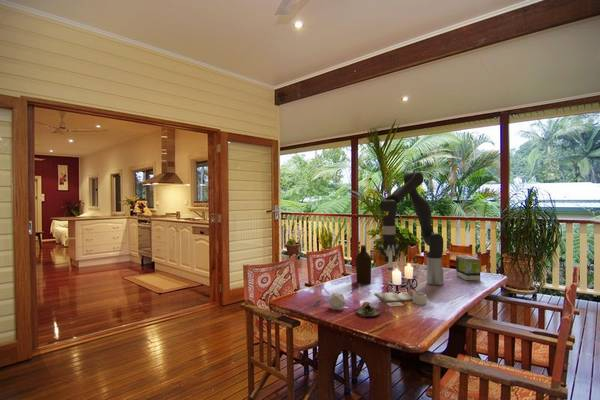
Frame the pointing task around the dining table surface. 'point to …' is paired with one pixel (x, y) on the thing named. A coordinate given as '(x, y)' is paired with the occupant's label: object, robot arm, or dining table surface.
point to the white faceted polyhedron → (337, 301)
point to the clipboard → (395, 296)
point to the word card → (395, 304)
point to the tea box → (468, 267)
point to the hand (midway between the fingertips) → (389, 261)
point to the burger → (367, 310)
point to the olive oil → (363, 266)
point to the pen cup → (419, 298)
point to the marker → (390, 260)
